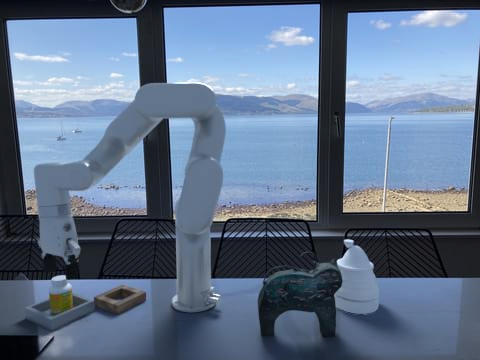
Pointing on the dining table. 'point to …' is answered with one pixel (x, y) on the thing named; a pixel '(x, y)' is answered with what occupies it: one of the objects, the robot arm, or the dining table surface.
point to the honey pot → (357, 282)
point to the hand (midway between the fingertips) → (61, 274)
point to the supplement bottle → (60, 295)
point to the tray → (43, 317)
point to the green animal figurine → (300, 295)
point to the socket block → (117, 307)
